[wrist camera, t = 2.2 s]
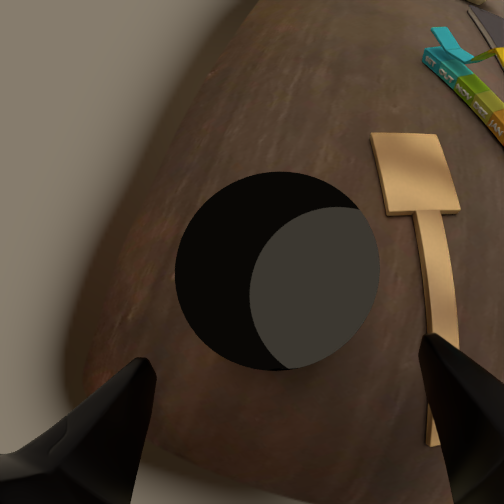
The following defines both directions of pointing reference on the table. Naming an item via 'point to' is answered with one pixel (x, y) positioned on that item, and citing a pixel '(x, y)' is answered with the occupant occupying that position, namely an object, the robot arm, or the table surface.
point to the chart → (466, 78)
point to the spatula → (423, 222)
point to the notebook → (489, 27)
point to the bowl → (476, 1)
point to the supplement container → (277, 271)
